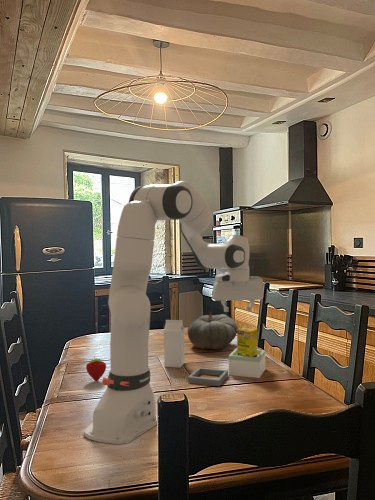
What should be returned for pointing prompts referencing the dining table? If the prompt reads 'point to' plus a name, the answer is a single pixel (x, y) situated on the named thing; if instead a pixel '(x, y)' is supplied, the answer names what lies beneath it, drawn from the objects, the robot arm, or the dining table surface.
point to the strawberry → (96, 368)
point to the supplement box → (247, 342)
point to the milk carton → (174, 343)
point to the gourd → (212, 331)
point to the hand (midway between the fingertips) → (237, 311)
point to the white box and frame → (232, 369)
